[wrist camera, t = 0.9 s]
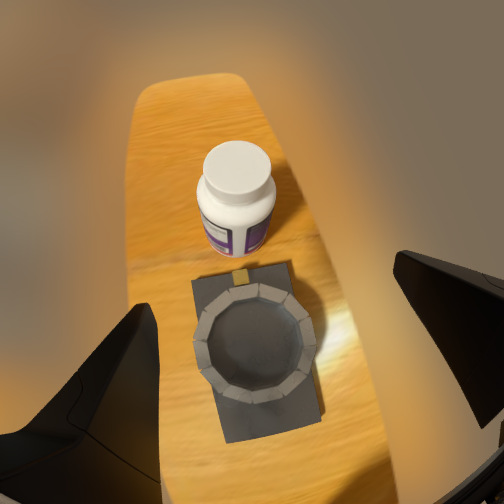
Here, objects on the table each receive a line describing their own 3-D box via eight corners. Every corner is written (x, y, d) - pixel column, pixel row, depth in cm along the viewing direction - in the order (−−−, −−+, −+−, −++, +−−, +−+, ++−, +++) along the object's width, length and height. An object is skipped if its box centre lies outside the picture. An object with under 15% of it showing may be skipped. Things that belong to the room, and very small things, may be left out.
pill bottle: (261, 201, 25) (274, 129, 16) (270, 255, 24) (292, 200, 15) (203, 206, 25) (190, 136, 16) (208, 262, 23) (192, 210, 14)
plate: (318, 418, 19) (321, 421, 19) (226, 440, 18) (226, 443, 18) (284, 265, 24) (286, 262, 23) (192, 282, 23) (191, 280, 22)
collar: (320, 382, 20) (325, 385, 18) (210, 407, 19) (208, 412, 17) (291, 261, 23) (295, 256, 21) (185, 281, 22) (181, 277, 20)
